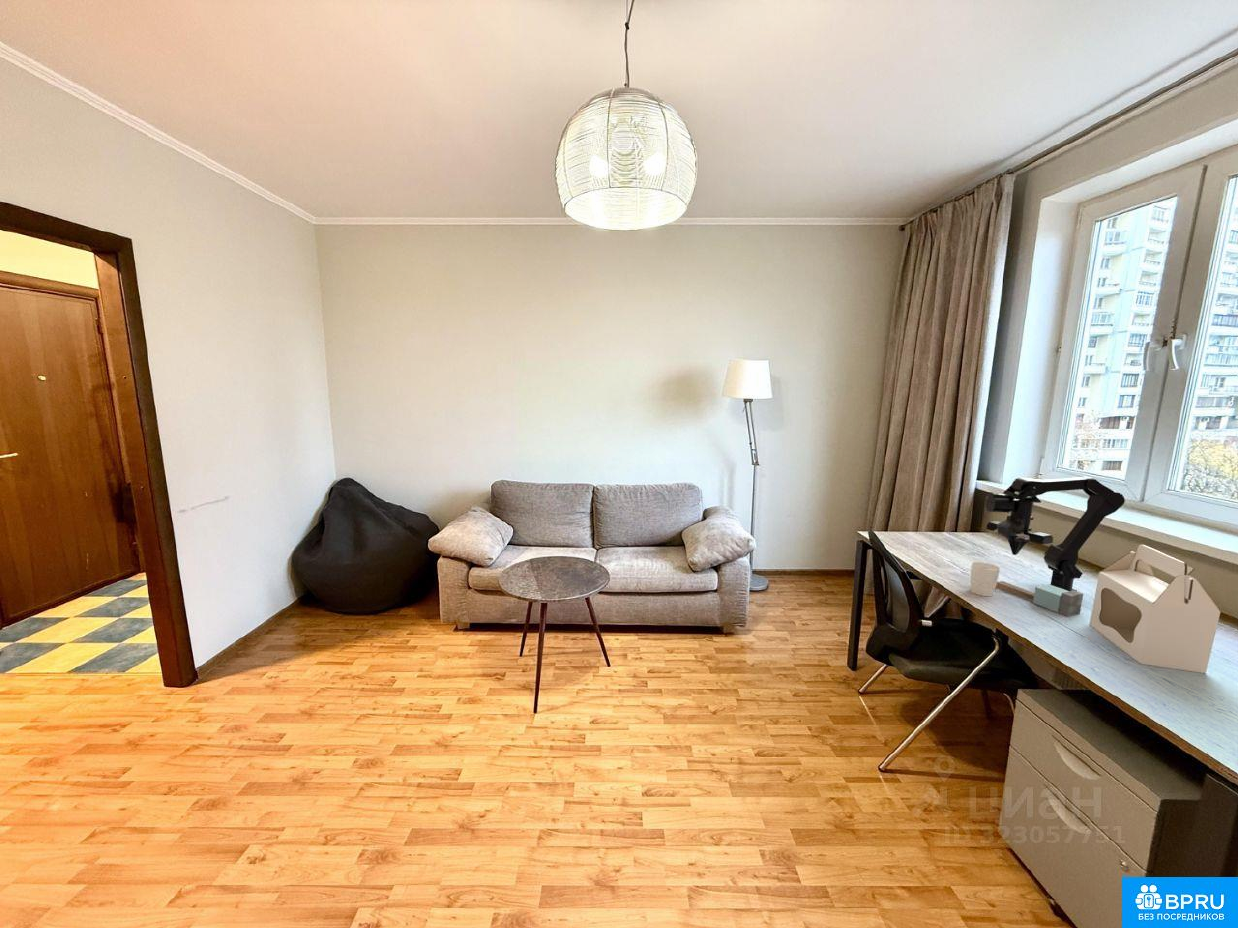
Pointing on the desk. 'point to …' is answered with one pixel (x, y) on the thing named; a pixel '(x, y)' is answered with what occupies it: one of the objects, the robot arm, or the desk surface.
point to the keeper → (1048, 597)
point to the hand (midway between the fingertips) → (1014, 554)
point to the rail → (1068, 602)
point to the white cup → (984, 578)
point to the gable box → (1155, 611)
